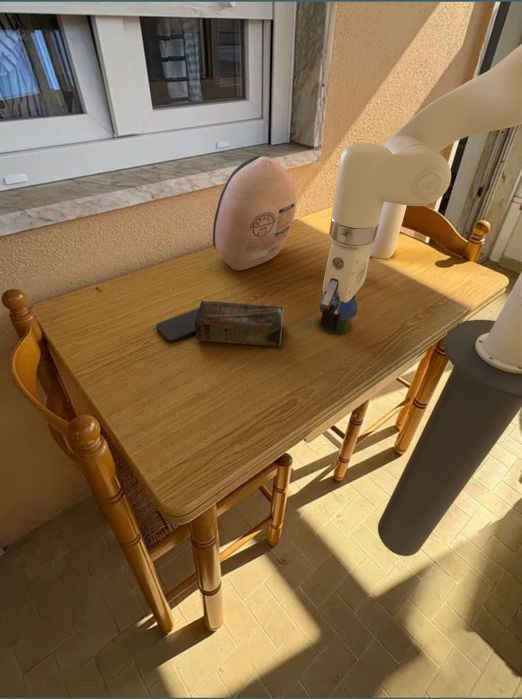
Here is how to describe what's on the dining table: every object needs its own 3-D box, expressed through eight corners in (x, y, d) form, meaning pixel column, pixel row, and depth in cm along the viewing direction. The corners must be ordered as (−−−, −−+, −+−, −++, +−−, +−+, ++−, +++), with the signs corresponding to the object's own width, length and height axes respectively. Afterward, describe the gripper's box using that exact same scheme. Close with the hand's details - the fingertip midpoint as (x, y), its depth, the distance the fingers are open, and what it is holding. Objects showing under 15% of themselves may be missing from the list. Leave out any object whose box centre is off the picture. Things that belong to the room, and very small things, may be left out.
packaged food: (262, 241, 123) (264, 138, 104) (304, 265, 112) (315, 154, 92) (205, 261, 113) (195, 151, 93) (245, 290, 102) (243, 171, 82)
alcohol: (360, 247, 121) (381, 143, 101) (386, 245, 123) (411, 141, 103) (371, 260, 115) (395, 151, 95) (398, 258, 116) (428, 150, 96)
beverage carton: (281, 348, 84) (282, 325, 79) (195, 343, 85) (192, 319, 80) (282, 326, 90) (283, 303, 85) (201, 321, 91) (199, 298, 86)
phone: (226, 318, 91) (168, 341, 84) (226, 320, 91) (169, 344, 84) (210, 303, 95) (154, 324, 88) (210, 306, 96) (155, 327, 89)
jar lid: (336, 295, 76) (338, 288, 75) (364, 311, 72) (365, 304, 71) (312, 307, 73) (313, 300, 72) (339, 325, 69) (340, 318, 68)
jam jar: (352, 322, 91) (359, 291, 85) (342, 337, 87) (348, 305, 81) (327, 314, 94) (332, 283, 88) (316, 327, 90) (321, 296, 84)
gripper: (355, 257, 55) (336, 349, 67) (391, 217, 66) (370, 302, 78) (309, 244, 58) (298, 335, 70) (351, 208, 69) (336, 291, 81)
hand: (336, 317), depth 74 cm, fingers closed on jar lid, 6 cm apart
